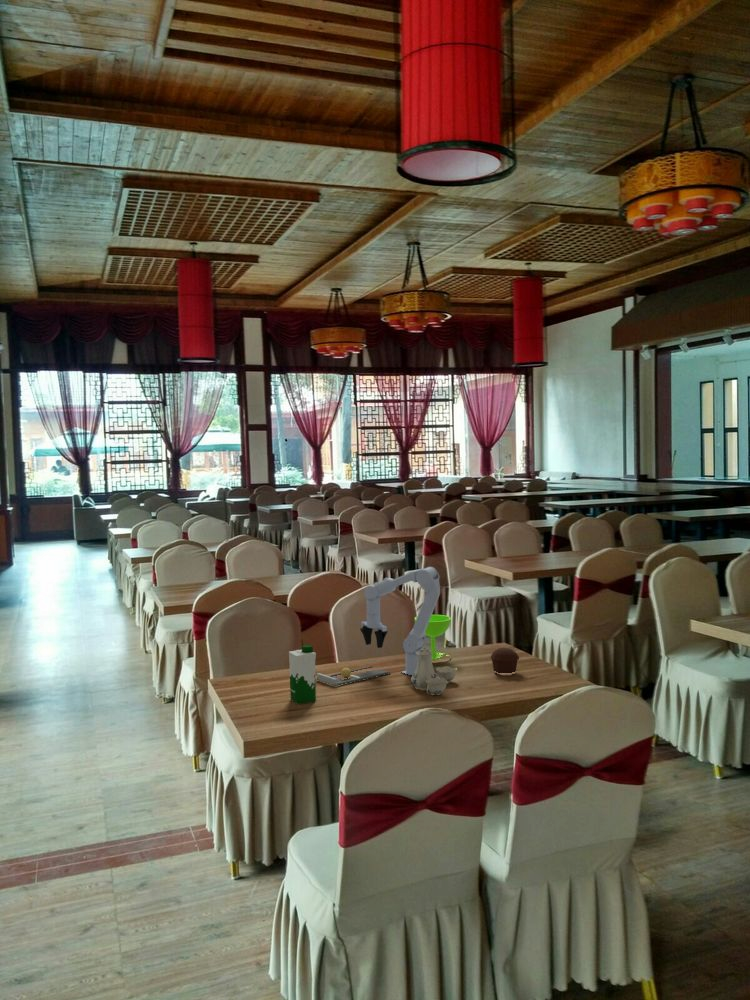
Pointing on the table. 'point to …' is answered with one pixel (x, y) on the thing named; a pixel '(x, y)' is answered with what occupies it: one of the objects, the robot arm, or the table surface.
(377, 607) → the robot arm
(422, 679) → the chinaware
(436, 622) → the wineglass
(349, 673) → the ball
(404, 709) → the table surface
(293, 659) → the milk carton
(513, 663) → the muffin
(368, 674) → the lane mat
